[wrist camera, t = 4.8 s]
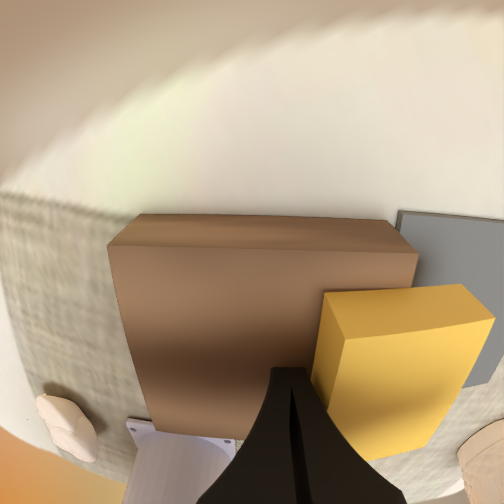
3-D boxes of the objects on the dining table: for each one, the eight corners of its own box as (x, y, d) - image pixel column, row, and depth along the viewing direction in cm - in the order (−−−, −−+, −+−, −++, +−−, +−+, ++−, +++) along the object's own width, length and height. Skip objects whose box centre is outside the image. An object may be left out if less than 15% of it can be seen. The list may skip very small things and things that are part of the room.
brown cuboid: (347, 392, 18) (357, 437, 15) (169, 387, 18) (155, 430, 15) (387, 220, 14) (418, 253, 10) (139, 214, 14) (106, 245, 11)
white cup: (513, 431, 22) (542, 495, 13) (455, 466, 24) (477, 535, 15) (515, 402, 20) (554, 479, 11) (446, 446, 22) (474, 530, 13)
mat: (485, 378, 18) (487, 382, 18) (353, 396, 18) (354, 402, 18) (546, 226, 13) (551, 229, 13) (398, 210, 13) (402, 214, 13)
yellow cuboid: (408, 411, 14) (424, 446, 12) (300, 429, 14) (308, 470, 12) (461, 283, 11) (495, 317, 9) (324, 292, 11) (345, 339, 8)
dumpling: (122, 435, 22) (109, 473, 18) (79, 433, 23) (65, 466, 19) (71, 377, 19) (48, 417, 16) (31, 380, 20) (9, 413, 16)
